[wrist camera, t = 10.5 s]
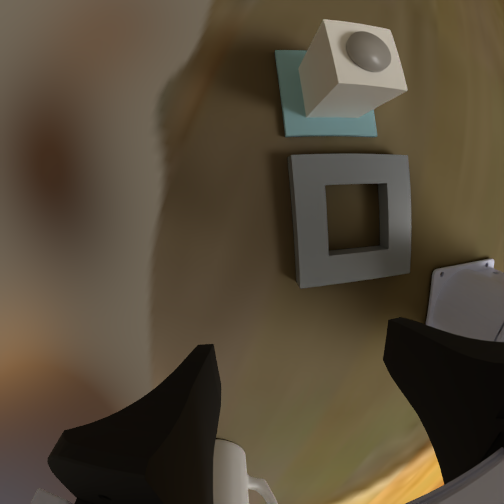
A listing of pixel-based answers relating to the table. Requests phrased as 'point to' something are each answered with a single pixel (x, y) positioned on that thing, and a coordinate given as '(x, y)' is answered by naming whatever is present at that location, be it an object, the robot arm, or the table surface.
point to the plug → (350, 70)
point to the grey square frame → (315, 217)
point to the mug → (235, 476)
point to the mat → (295, 107)
